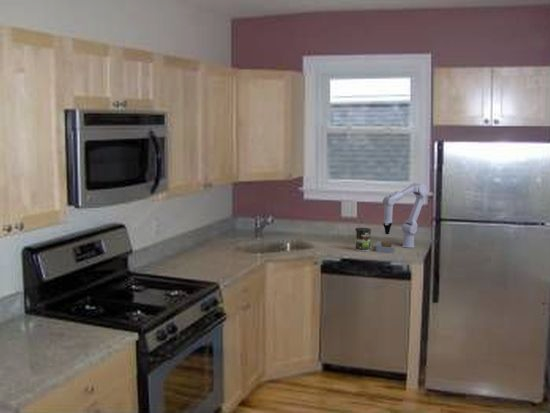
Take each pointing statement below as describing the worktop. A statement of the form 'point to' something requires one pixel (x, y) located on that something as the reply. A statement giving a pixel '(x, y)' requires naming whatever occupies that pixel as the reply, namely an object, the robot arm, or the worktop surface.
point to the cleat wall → (383, 248)
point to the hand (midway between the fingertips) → (387, 234)
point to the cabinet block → (385, 244)
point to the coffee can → (362, 239)
